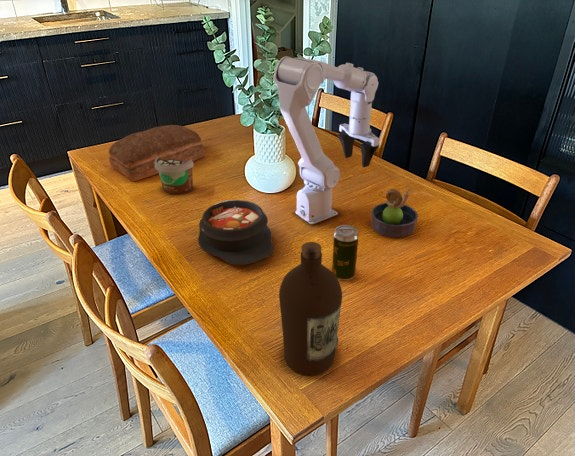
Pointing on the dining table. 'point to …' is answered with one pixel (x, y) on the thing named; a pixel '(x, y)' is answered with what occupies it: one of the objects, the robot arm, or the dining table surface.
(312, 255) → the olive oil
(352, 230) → the beer can
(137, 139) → the bread
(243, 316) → the dining table surface
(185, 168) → the food container
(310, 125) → the robot arm
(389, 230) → the bowl
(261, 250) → the casserole
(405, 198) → the snail figurine
